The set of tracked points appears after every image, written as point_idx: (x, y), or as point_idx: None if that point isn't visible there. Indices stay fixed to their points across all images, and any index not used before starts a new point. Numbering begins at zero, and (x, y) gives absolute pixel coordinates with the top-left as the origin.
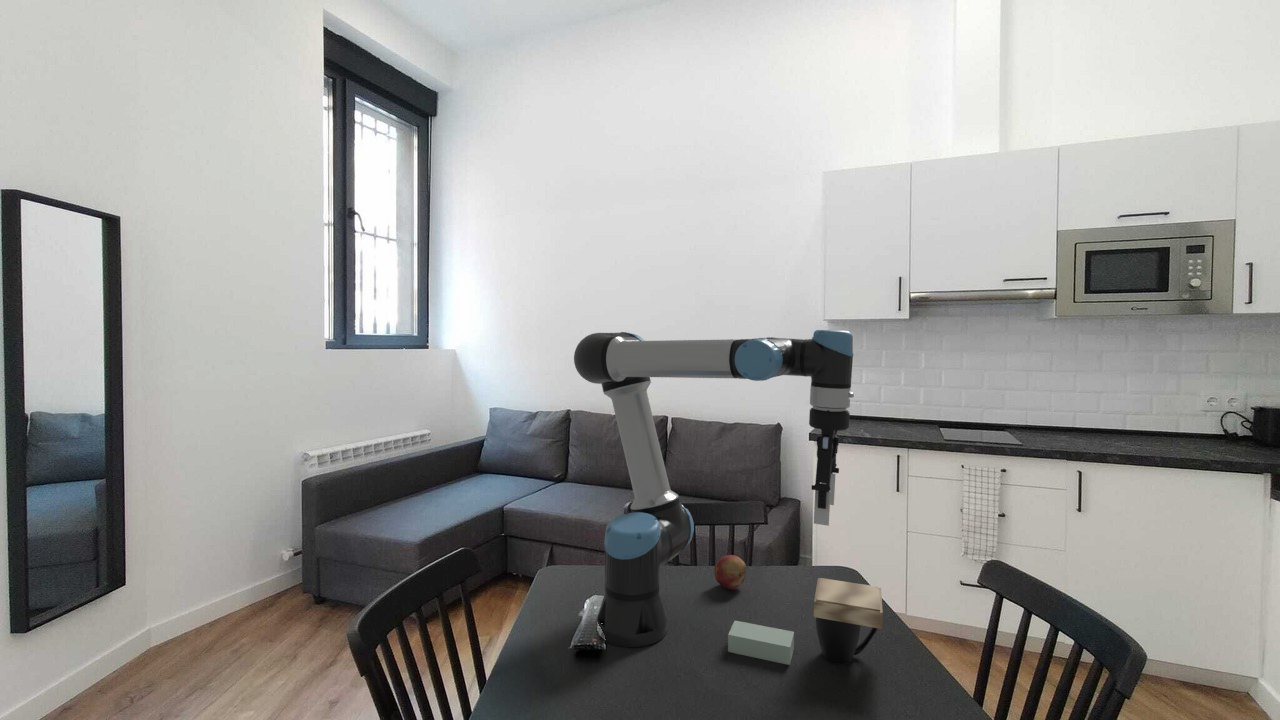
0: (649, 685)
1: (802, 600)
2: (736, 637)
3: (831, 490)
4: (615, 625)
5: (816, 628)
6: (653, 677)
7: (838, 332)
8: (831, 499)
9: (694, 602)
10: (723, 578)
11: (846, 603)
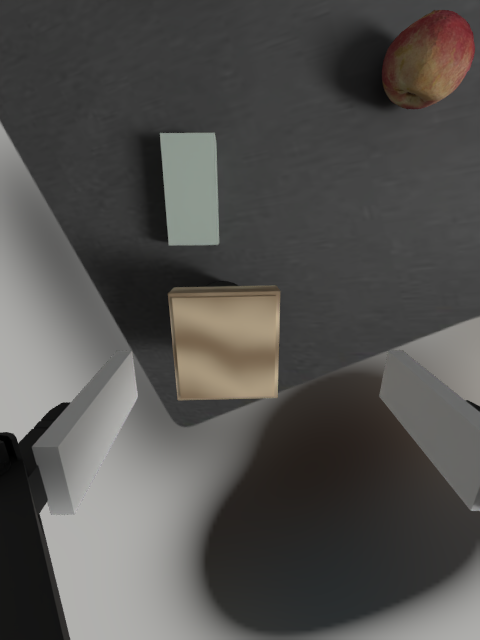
0: (13, 32)
1: (383, 237)
2: (161, 150)
3: (415, 425)
4: None
5: (219, 281)
6: (36, 30)
7: None
8: (392, 401)
9: (317, 17)
10: (386, 56)
11: (179, 349)
